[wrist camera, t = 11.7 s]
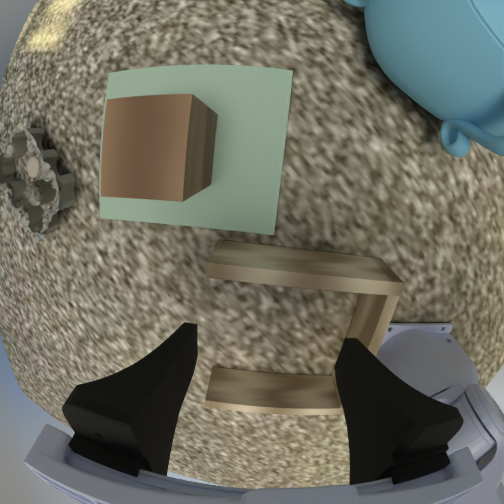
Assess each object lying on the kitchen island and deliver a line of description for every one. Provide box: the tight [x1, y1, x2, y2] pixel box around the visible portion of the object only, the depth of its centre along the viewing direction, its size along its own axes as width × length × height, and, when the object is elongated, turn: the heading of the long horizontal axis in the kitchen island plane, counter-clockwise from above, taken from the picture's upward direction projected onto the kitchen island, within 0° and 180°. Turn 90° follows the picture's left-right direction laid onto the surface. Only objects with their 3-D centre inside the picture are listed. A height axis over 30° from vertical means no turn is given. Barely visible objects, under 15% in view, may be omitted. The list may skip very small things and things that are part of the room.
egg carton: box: [0, 122, 76, 244], centre depth 18 cm, size 10×7×4 cm
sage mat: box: [100, 65, 293, 235], centre depth 18 cm, size 14×12×1 cm
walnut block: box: [101, 94, 218, 202], centre depth 15 cm, size 4×5×7 cm
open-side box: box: [205, 240, 404, 415], centre depth 21 cm, size 13×14×4 cm
